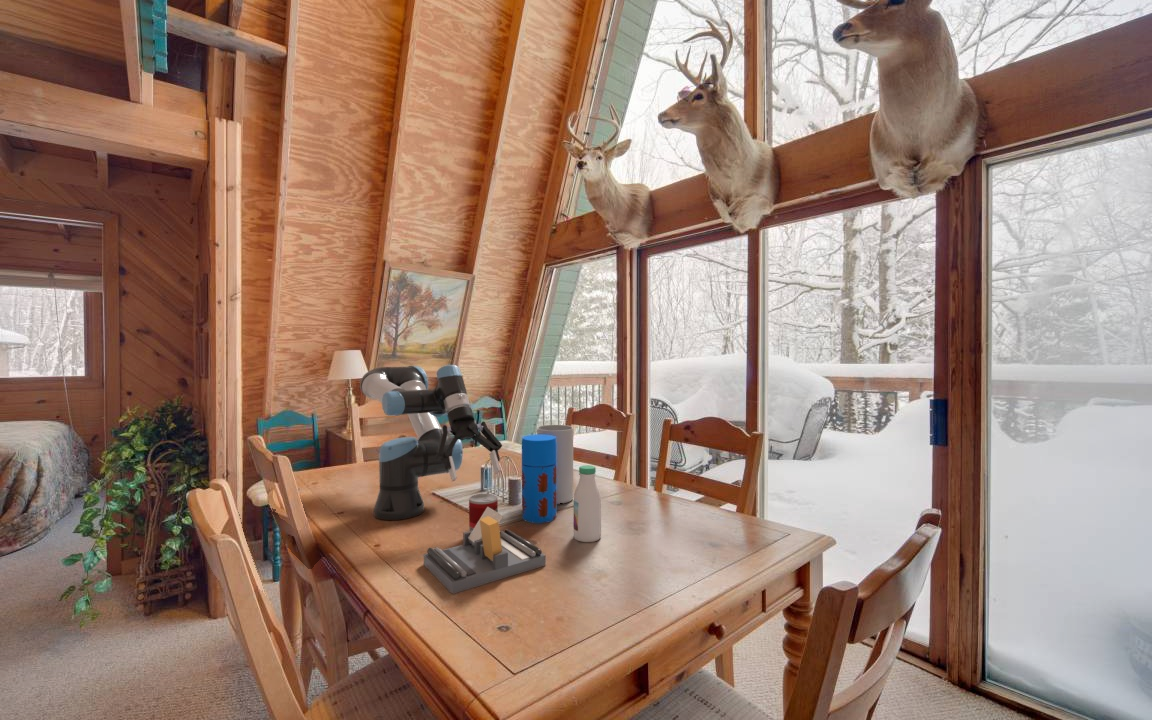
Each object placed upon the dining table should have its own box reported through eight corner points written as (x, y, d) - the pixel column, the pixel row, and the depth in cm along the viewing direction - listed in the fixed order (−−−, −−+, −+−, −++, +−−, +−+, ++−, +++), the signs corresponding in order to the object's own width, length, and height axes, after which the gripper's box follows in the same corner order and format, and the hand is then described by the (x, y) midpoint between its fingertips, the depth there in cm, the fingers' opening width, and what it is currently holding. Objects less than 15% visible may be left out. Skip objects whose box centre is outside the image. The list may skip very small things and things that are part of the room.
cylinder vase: (541, 493, 184) (541, 424, 183) (575, 494, 182) (575, 425, 181) (533, 504, 171) (533, 430, 170) (570, 505, 170) (570, 431, 169)
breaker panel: (423, 564, 125) (423, 541, 125) (509, 541, 139) (509, 521, 139) (452, 594, 110) (452, 568, 110) (545, 565, 124) (545, 542, 124)
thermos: (561, 513, 162) (561, 435, 161) (549, 525, 152) (548, 441, 151) (530, 509, 166) (530, 433, 165) (516, 520, 155) (515, 439, 155)
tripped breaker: (484, 558, 122) (479, 519, 121) (493, 554, 123) (488, 515, 122) (494, 565, 118) (489, 525, 117) (503, 561, 119) (498, 521, 118)
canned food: (492, 542, 139) (491, 502, 138) (464, 540, 140) (464, 500, 140) (501, 532, 146) (501, 494, 146) (475, 530, 148) (475, 492, 147)
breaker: (466, 540, 130) (487, 506, 133) (473, 544, 131) (494, 510, 134) (474, 547, 126) (496, 511, 129) (481, 551, 127) (503, 515, 130)
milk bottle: (605, 535, 144) (605, 465, 143) (594, 544, 137) (594, 471, 136) (580, 530, 147) (580, 462, 147) (568, 540, 140) (568, 468, 140)
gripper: (422, 408, 146) (439, 477, 137) (500, 402, 161) (519, 464, 151) (415, 420, 151) (430, 488, 142) (491, 413, 166) (509, 474, 157)
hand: (476, 475), depth 147 cm, fingers open, 13 cm apart
